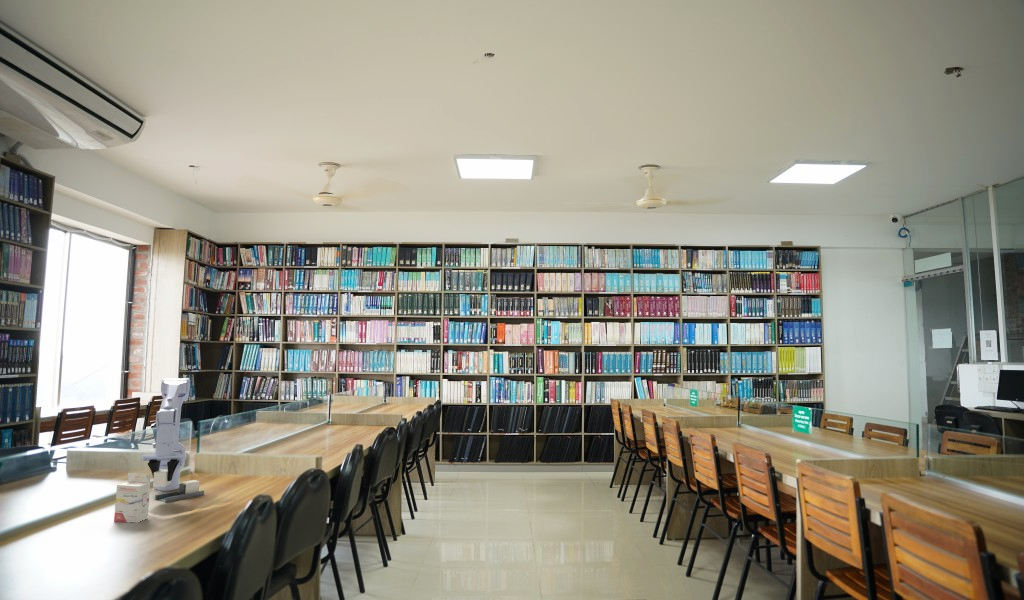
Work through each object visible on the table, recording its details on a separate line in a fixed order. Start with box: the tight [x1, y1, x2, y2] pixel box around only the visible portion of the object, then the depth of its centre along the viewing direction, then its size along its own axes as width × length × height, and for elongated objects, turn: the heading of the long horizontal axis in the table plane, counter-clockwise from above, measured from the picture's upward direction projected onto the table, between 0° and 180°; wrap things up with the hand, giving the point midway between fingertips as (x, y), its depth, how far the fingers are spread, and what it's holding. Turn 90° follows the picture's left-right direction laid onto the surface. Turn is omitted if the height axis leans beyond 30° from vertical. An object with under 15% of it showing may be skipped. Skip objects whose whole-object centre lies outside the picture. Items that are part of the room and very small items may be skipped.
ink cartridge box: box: [113, 472, 151, 524], centre depth 190 cm, size 9×5×15 cm, turn 84°
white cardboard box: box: [152, 469, 171, 488], centre depth 210 cm, size 4×6×5 cm
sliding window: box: [153, 490, 205, 504], centre depth 216 cm, size 9×14×2 cm, turn 149°
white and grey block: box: [178, 479, 201, 495], centre depth 219 cm, size 4×6×5 cm
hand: (162, 480), depth 210 cm, fingers closed on white cardboard box, 4 cm apart
